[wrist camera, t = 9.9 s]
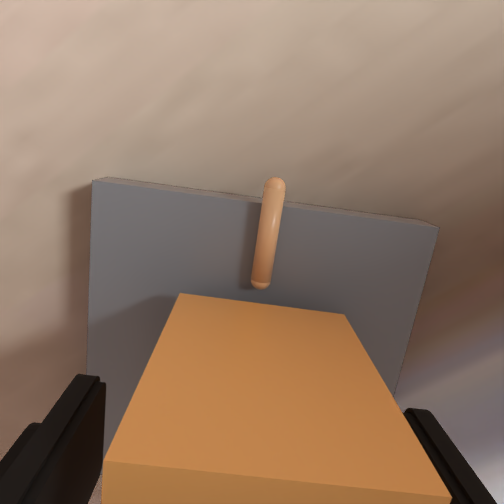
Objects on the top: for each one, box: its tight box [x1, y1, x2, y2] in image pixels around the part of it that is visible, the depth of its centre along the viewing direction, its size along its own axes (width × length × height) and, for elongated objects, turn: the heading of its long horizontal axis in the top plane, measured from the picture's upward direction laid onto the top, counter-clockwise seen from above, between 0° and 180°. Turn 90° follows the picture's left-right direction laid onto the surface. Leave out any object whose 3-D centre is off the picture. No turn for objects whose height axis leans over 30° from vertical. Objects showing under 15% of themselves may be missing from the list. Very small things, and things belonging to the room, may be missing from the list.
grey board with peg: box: [86, 177, 440, 475], centre depth 12 cm, size 12×13×8 cm
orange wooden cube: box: [101, 293, 452, 504], centre depth 10 cm, size 6×6×7 cm
